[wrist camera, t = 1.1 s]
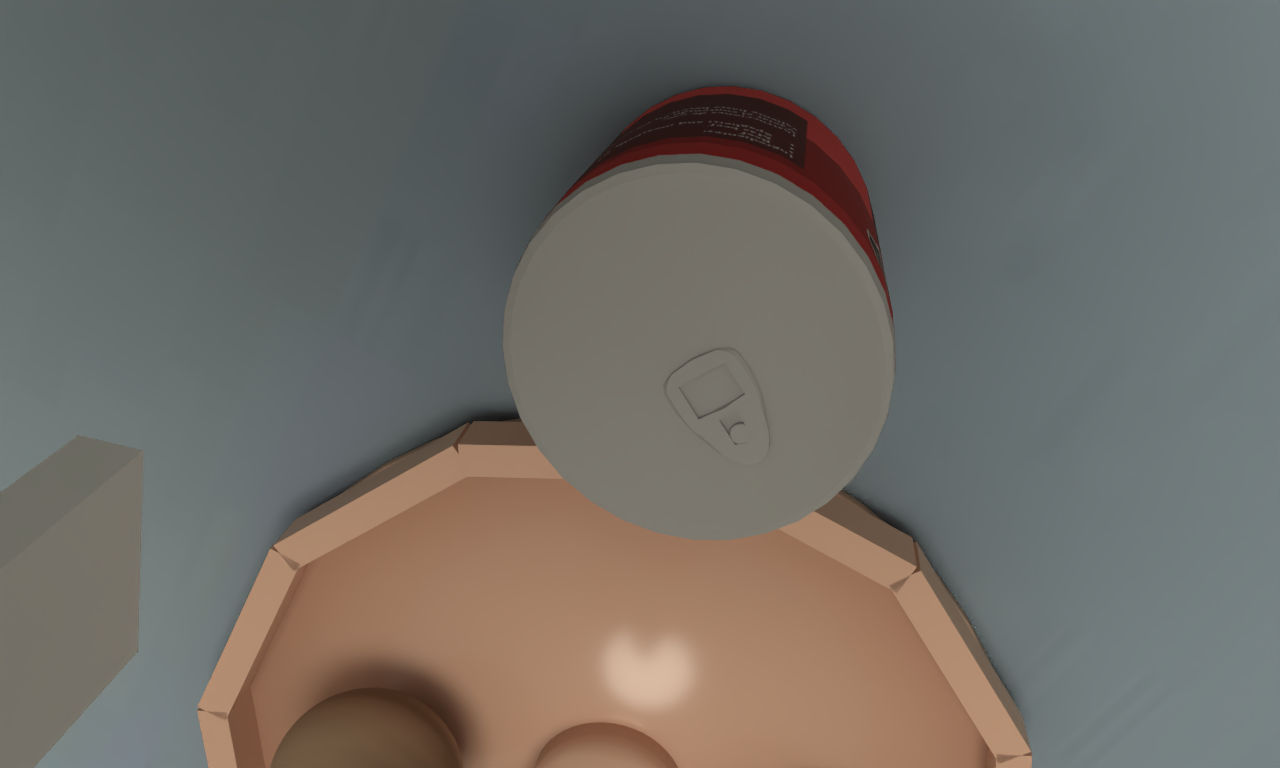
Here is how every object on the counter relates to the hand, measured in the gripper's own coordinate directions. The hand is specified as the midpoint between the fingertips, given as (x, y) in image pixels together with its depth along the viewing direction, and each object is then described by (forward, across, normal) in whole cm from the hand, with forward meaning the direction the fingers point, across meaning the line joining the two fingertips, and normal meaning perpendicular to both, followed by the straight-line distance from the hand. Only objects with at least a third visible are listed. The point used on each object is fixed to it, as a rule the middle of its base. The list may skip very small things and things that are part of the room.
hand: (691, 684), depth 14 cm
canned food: (+22, -1, -1) cm, 22 cm away
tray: (+21, -1, -20) cm, 29 cm away
